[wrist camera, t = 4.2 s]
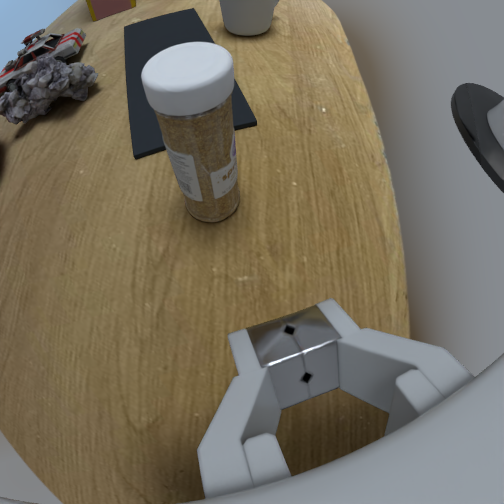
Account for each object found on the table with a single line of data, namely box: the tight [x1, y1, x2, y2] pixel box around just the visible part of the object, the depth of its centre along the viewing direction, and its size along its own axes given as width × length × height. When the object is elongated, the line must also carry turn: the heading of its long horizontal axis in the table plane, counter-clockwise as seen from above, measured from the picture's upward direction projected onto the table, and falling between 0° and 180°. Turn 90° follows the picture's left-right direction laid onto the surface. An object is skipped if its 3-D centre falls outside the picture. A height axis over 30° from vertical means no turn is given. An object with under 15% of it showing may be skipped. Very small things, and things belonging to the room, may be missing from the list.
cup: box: [220, 0, 279, 36], centre depth 32 cm, size 11×8×8 cm
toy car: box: [0, 28, 86, 93], centre depth 31 cm, size 8×18×8 cm, turn 102°
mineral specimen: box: [0, 53, 98, 124], centre depth 27 cm, size 12×9×10 cm
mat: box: [124, 8, 257, 159], centre depth 32 cm, size 32×12×1 cm, turn 19°
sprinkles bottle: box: [141, 42, 240, 222], centre depth 19 cm, size 5×5×14 cm
